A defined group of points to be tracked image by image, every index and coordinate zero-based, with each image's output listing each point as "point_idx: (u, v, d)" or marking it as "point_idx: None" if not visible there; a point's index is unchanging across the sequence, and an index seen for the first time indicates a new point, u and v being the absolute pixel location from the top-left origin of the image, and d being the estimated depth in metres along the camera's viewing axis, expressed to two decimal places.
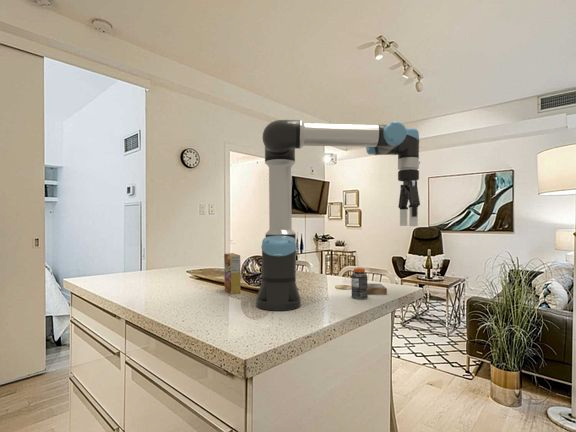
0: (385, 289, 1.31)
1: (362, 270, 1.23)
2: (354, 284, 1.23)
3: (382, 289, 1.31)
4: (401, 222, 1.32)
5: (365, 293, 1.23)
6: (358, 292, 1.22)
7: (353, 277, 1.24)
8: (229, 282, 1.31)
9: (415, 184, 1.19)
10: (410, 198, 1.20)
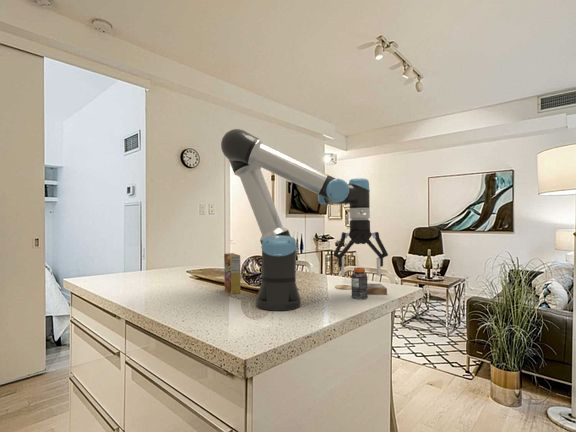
0: (385, 289, 1.31)
1: (362, 270, 1.23)
2: (354, 284, 1.23)
3: (382, 289, 1.31)
4: (377, 271, 1.26)
5: (365, 293, 1.23)
6: (358, 292, 1.22)
7: (353, 277, 1.24)
8: (229, 282, 1.31)
9: (342, 236, 1.25)
10: (343, 249, 1.26)
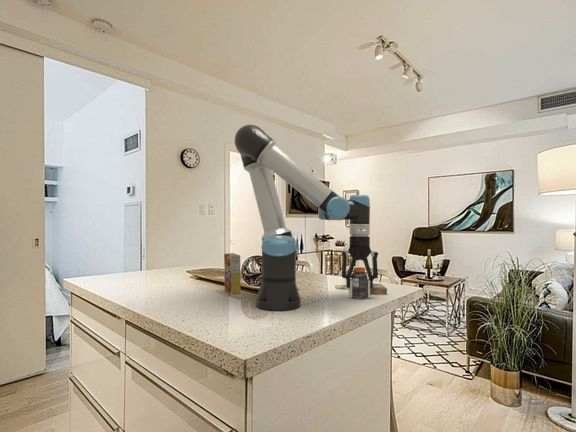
0: (385, 289, 1.31)
1: (362, 270, 1.23)
2: (354, 284, 1.23)
3: (382, 289, 1.31)
4: None
5: (365, 293, 1.23)
6: (358, 292, 1.22)
7: (353, 277, 1.24)
8: (229, 282, 1.31)
9: (342, 255, 1.25)
10: None
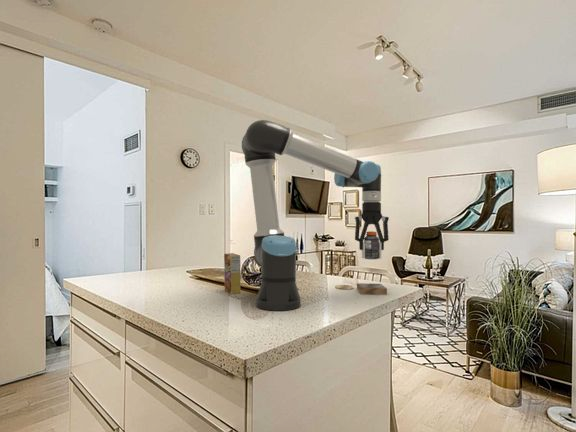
0: (385, 289, 1.31)
1: (374, 233, 1.34)
2: (366, 246, 1.34)
3: (382, 289, 1.31)
4: None
5: (377, 254, 1.34)
6: (371, 252, 1.33)
7: (366, 239, 1.35)
8: (229, 282, 1.31)
9: (356, 220, 1.36)
10: None
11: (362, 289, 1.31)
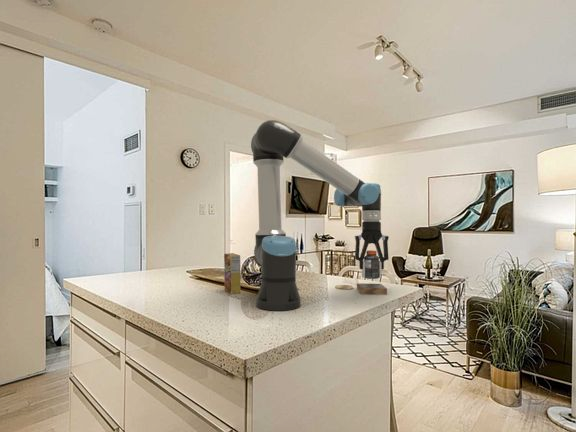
0: (385, 289, 1.31)
1: (374, 252, 1.34)
2: (366, 265, 1.34)
3: (382, 289, 1.31)
4: None
5: (377, 273, 1.34)
6: (371, 272, 1.33)
7: (366, 259, 1.35)
8: (229, 282, 1.31)
9: (356, 239, 1.36)
10: None
11: (362, 289, 1.31)
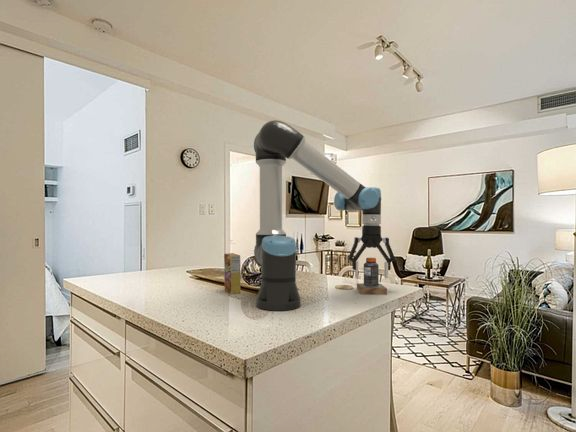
0: (385, 289, 1.31)
1: (374, 260, 1.34)
2: (366, 272, 1.34)
3: (382, 289, 1.31)
4: (384, 274, 1.37)
5: (376, 281, 1.33)
6: (370, 279, 1.33)
7: (365, 266, 1.34)
8: (229, 282, 1.31)
9: (355, 240, 1.36)
10: (357, 252, 1.37)
11: (362, 289, 1.31)
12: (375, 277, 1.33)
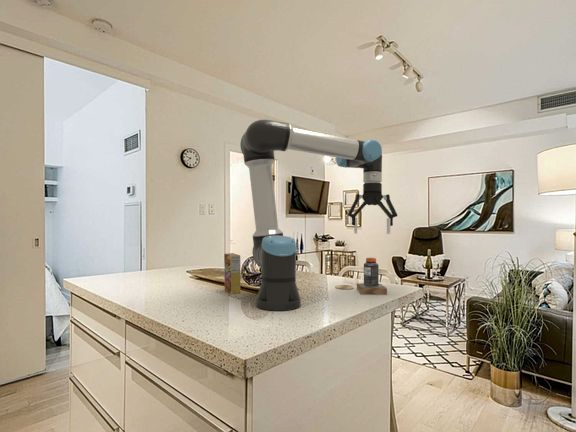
0: (385, 289, 1.31)
1: (374, 260, 1.34)
2: (366, 272, 1.34)
3: (382, 289, 1.31)
4: (387, 230, 1.39)
5: (376, 281, 1.33)
6: (370, 279, 1.33)
7: (365, 266, 1.34)
8: (229, 282, 1.31)
9: (355, 197, 1.38)
10: (357, 209, 1.39)
11: (362, 289, 1.31)
12: (375, 277, 1.33)
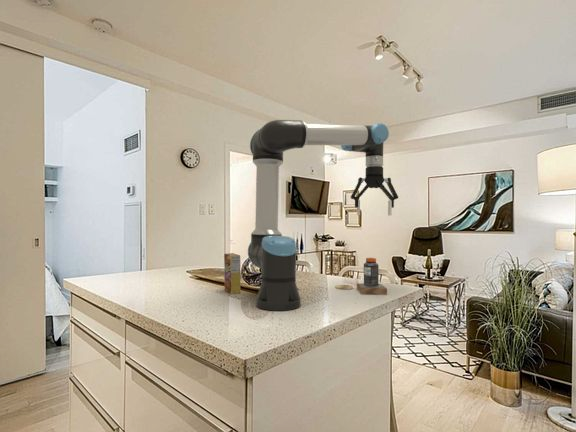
0: (385, 289, 1.31)
1: (374, 260, 1.34)
2: (366, 272, 1.34)
3: (382, 289, 1.31)
4: (388, 212, 1.45)
5: (376, 281, 1.33)
6: (370, 279, 1.33)
7: (365, 266, 1.34)
8: (229, 282, 1.31)
9: (358, 180, 1.44)
10: None
11: (362, 289, 1.31)
12: (375, 277, 1.33)
